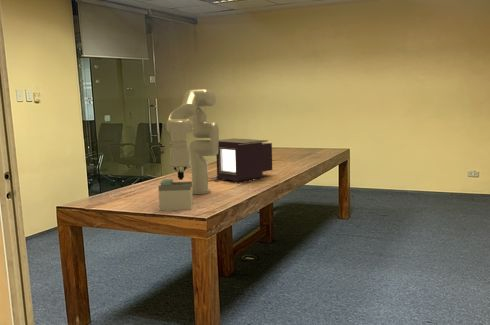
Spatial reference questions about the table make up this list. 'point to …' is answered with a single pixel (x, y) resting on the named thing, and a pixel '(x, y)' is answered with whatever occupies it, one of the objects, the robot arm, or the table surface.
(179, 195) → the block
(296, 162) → the table surface
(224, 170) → the crt monitor
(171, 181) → the keeper
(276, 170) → the table surface
